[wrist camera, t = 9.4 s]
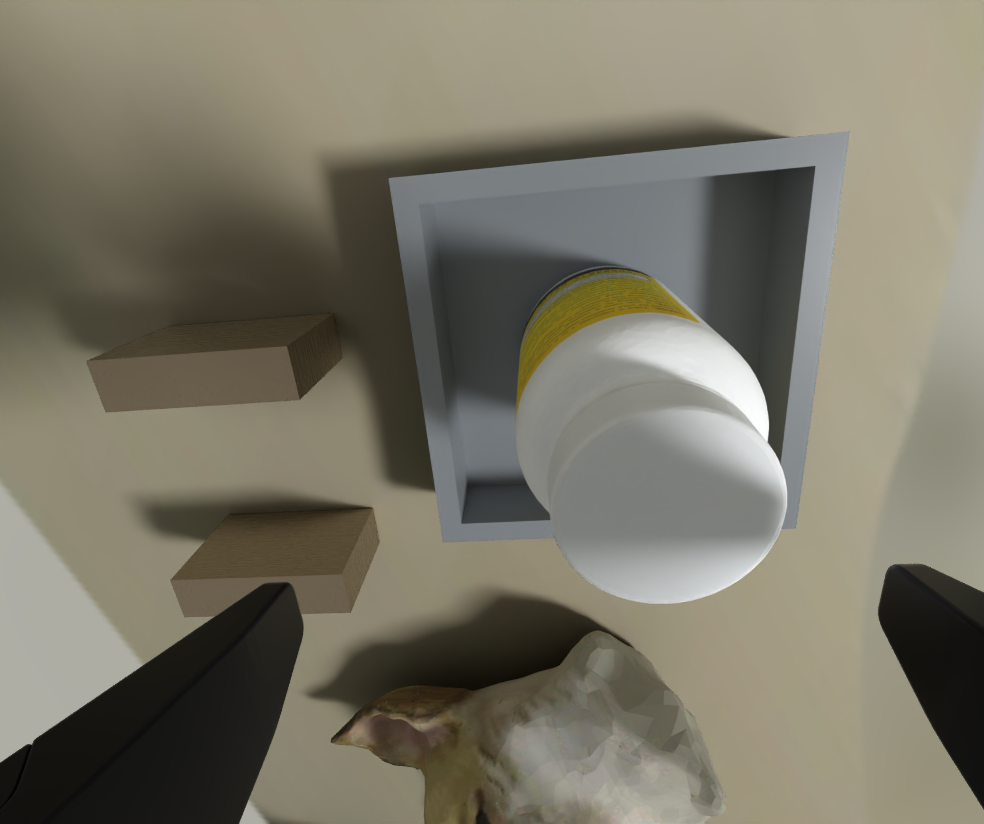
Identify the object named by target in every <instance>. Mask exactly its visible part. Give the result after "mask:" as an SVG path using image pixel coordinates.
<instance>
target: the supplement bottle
mask: <svg viewBox="0 0 984 824" xmlns="http://www.w3.org/2000/svg"><path fill="white" fill-rule="evenodd" d="M768 432H769V419H768V411H767V405H766V400H765V396H764V394H763V391H762V388H761V386H760V384H759V382H758V380H757V378H756V376H755V374H754V373H753V371H752V369H751V368H750V366H749V365H748V363H747V362H746V361H745V360H744V359H743V357H742V356H741V355H740V354H739V353H738V352H737V351H736V350H735V349H734V348H733V347H732V346H731V345H730V344H729V343H728V342H727V341H726V340H725V339H723V338H722V337H721V336H720V335H719V334H718V333H717V332H716V331H714V330H713V329H712V328H711V327H710V326H709V325H708V324H707V323H705V322H704V321H703V320H702V319H701V318H700V317H699V316H698V315H697V314H696V313H694V312H693V311H692V310H691V309H690V308H689V307H688V306H687V305H686V304H685V303H684V302H683V301H682V300H680V299H679V298H678V297H677V296H676V295H675V294H674V293H673V292H672V291H671V290H670V289H668V288H667V287H666V286H665V285H664V284H663V283H661V282H660V281H659V280H657V279H655V278H654V277H652V276H650V275H648V274H646V273H644V272H641V271H639V270H636V269H632V268H628V267H622V266H598V267H592V268H588V269H584V270H581V271H579V272H576V273H574V274H572V275H569V276H568V277H566V278H564V279H562V280H561V281H559V282H558V283H557V284H555V285H554V286H553V287H552V288H551V289H549V290H548V291H547V292H546V293H545V294H544V295H543V296H542V297H541V299H540V300H539V301H538V303H537V304H536V306H535V307H534V309H533V311H532V312H531V314H530V316H529V318H528V320H527V323H526V325H525V328H524V331H523V335H522V339H521V345H520V357H519V372H518V387H517V401H516V416H515V436H516V448H517V455H518V459H519V464H520V467H521V470H522V472H523V475H524V477H525V480H526V482H527V484H528V486H529V488H530V489H531V491H532V492H533V494H534V495H535V497H536V498H537V500H538V501H539V502H540V503H541V504H542V506H543V507H544V508H545V509H546V510H547V511H548V512H549V513H550V520H551V526H552V531H553V535H554V538H555V540H556V542H557V545H558V547H559V549H560V551H561V552H562V554H563V556H564V557H565V559H566V560H567V561H568V563H569V564H570V565H571V566H572V567H573V568H574V569H575V570H576V572H577V573H578V574H579V575H581V576H582V577H583V578H584V579H585V580H587V581H588V582H590V583H591V584H593V585H594V586H596V587H598V588H599V589H601V590H603V591H605V592H607V593H609V594H612V595H614V596H617V597H620V598H624V599H627V600H631V601H637V602H642V603H652V604H670V603H679V602H686V601H692V600H695V599H699V598H702V597H705V596H708V595H711V594H714V593H716V592H718V591H720V590H722V589H724V588H726V587H729V586H730V585H732V584H733V583H735V582H737V581H738V580H740V579H741V578H743V577H744V576H745V575H746V574H748V573H749V572H750V571H751V570H753V569H754V568H755V567H756V566H757V565H758V564H759V563H760V562H761V561H762V560H763V559H764V557H765V556H766V555H767V553H768V552H769V551H770V549H771V548H772V546H773V545H774V543H775V541H776V539H777V537H778V535H779V533H780V531H781V528H782V525H783V522H784V518H785V514H786V509H787V487H786V480H785V476H784V473H783V470H782V467H781V465H780V462H779V460H778V458H777V456H776V454H775V452H774V451H773V449H772V448H771V447H770V445H769V444H768V443H767V442H768Z"/></svg>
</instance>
